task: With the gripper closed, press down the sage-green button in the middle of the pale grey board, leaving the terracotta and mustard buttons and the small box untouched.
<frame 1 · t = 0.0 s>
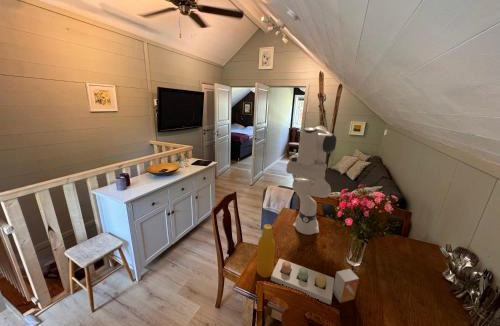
hand: (303, 183, 114), 48 cm above the table, fingers open, 8 cm apart
terracotta button: (286, 267, 113), point 5 cm above the table, slide at 0.0 cm
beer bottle: (264, 271, 116), on the table
mustard button: (320, 280, 105), point 5 cm above the table, slide at 0.0 cm
green button: (303, 274, 109), point 5 cm above the table, slide at 0.0 cm
board: (302, 281, 110), on the table
small box: (342, 296, 103), on the table
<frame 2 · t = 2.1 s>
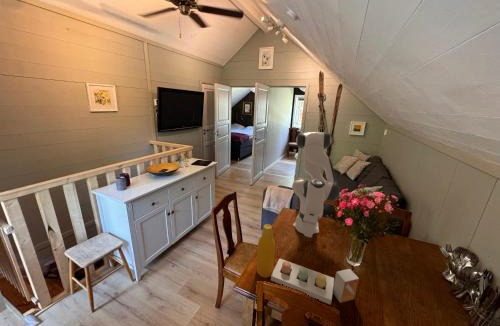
hand: (310, 234, 110), 24 cm above the table, fingers closed
nothing on the table moved.
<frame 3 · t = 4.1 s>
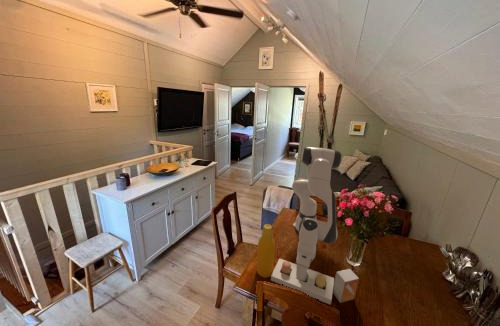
hand: (303, 273, 109), 6 cm above the table, fingers closed, pressing on green button
green button: (302, 276, 109), point 3 cm above the table, slide at -1.5 cm, touching gripper
everything else where it was.
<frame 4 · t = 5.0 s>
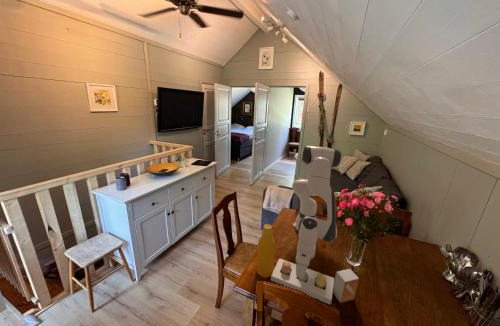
hand: (303, 271, 109), 6 cm above the table, fingers closed
green button: (302, 277, 110), point 3 cm above the table, slide at -1.9 cm
everything else where it was.
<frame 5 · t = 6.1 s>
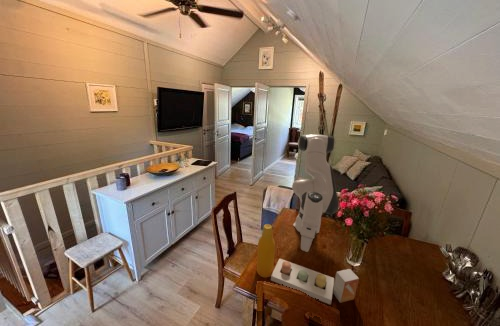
hand: (307, 246, 109), 19 cm above the table, fingers closed
nothing on the table moved.
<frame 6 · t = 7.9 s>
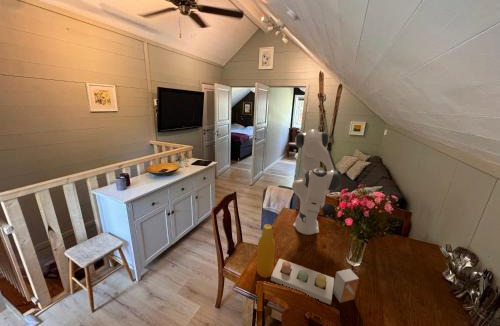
hand: (312, 224, 110), 29 cm above the table, fingers closed
nothing on the table moved.
at the end: green button slide at -1.9 cm; terracotta button slide at 0.0 cm; mustard button slide at 0.0 cm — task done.
